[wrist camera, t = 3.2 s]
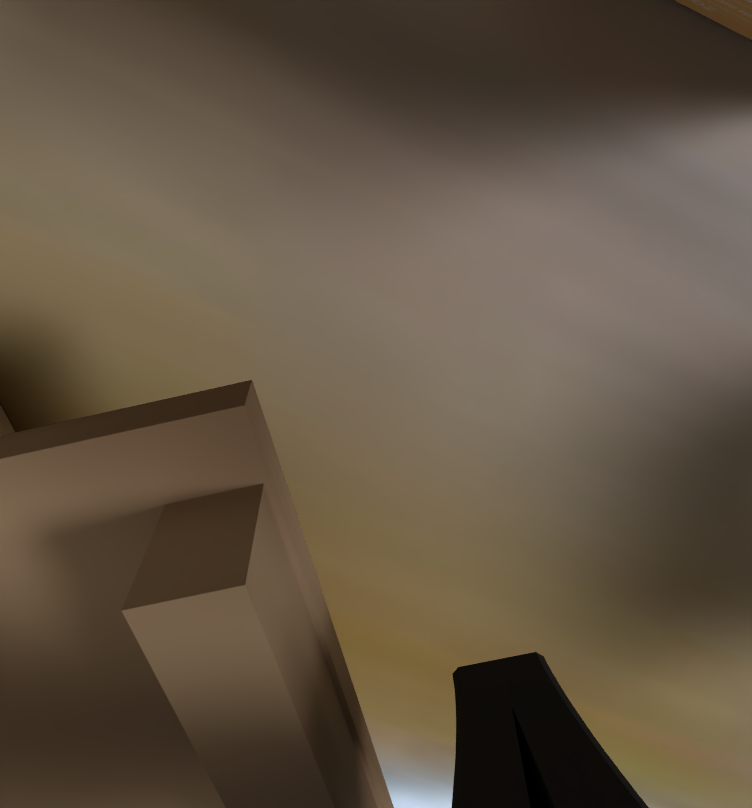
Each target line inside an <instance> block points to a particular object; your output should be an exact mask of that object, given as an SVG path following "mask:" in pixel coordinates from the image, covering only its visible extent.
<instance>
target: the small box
mask: <svg viewBox="0 0 752 808" xmlns="http://www.w3.org/2000/svg"><path fill="white" fill-rule="evenodd" d="M675 1H677V2H679V3H681V4H683V5H685V6H687V7H689V8H690V9H692V10H694V11H696V12H698V13H700V14H702V15H704V16H706V17H708V18H710V19H712V20H713V21H715V22H717V23H719V24H721V25H723V26H725V27H727V28H729V29H731V30H733V31H735V32H737V33H739V34H741V35H743V36H745V37H747V38H748V39H750V40H752V0H675Z"/></svg>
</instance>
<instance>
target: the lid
mask: <svg viewBox="0 0 752 808" xmlns="http://www.w3.org/2000/svg"><path fill="white" fill-rule="evenodd" d="M0 808H394V807H393V804H392V801H391V798H390V795H389V792H388V789H387V786H386V783H385V780H384V777H383V774H382V771H381V768H380V765H379V762H378V759H377V756H376V753H375V750H374V747H373V744H372V741H371V738H370V735H369V732H368V729H367V726H366V723H365V720H364V717H363V714H362V711H361V707H360V704H359V701H358V698H357V695H356V692H355V689H354V686H353V683H352V680H351V677H350V674H349V671H348V668H347V665H346V662H345V659H344V656H343V653H342V650H341V647H340V644H339V641H338V638H337V635H336V632H335V629H334V626H333V623H332V620H331V617H330V614H329V611H328V608H327V605H326V602H325V599H324V596H323V593H322V590H321V587H320V584H319V581H318V578H317V575H316V572H315V569H314V566H313V563H312V560H311V557H310V554H309V551H308V548H307V545H306V542H305V539H304V536H303V533H302V530H301V527H300V524H299V520H298V517H297V514H296V511H295V508H294V505H293V502H292V499H291V496H290V493H289V490H288V487H287V484H286V481H285V478H284V475H283V472H282V469H281V466H280V463H279V460H278V457H277V454H276V451H275V448H274V445H273V442H272V439H271V436H270V433H269V430H268V427H267V424H266V421H265V418H264V415H263V412H262V409H261V406H260V403H259V400H258V397H257V394H256V391H255V388H254V385H253V382H252V380H250V381H245V382H241V383H236V384H232V385H227V386H223V387H218V388H214V389H209V390H205V391H200V392H196V393H191V394H187V395H182V396H178V397H173V398H168V399H164V400H159V401H155V402H150V403H146V404H141V405H137V406H132V407H128V408H123V409H119V410H114V411H110V412H105V413H101V414H96V415H92V416H87V417H83V418H78V419H74V420H69V421H64V422H60V423H55V424H51V425H46V426H42V427H37V428H33V429H28V430H24V431H19V432H15V433H10V434H6V435H1V436H0Z"/></svg>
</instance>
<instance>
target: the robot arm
mask: <svg viewBox="0 0 752 808" xmlns="http://www.w3.org/2000/svg"><path fill="white" fill-rule="evenodd" d="M453 680H454V687H455V699H456V759H455V773H454V786H453V799H452V808H649V807H648V806H647V805H646V804H645V802H644V801H643V800H642V799H641V798H640V796H639V795H638V794H637V793H636V791H635V790H634V789H633V787H632V786H631V785H630V783H629V782H628V781H627V780H626V778H625V777H624V776H623V774H622V773H621V772H620V770H619V769H618V768H617V766H616V765H615V764H614V763H613V761H612V760H611V759H610V757H609V756H608V755H607V753H606V752H605V751H604V749H603V748H602V747H601V745H600V744H599V743H598V741H597V740H596V738H595V737H594V736H593V734H592V733H591V731H590V730H589V729H588V727H587V726H586V724H585V723H584V721H583V720H582V718H581V717H580V716H579V714H578V713H577V711H576V710H575V708H574V707H573V705H572V704H571V702H570V701H569V699H568V698H567V696H566V694H565V693H564V691H563V690H562V688H561V686H560V685H559V683H558V682H557V680H556V678H555V676H554V675H553V673H552V671H551V670H550V668H549V666H548V664H547V662H546V660H545V658H544V656H542V655H540V654H538V653H537V652H533V653H528V654H523V655H518V656H513V657H508V658H503V659H498V660H493V661H488V662H483V663H478V664H472V665H467V666H462V667H458V668H457V670H456V671H455V672H454V673H453Z"/></svg>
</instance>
